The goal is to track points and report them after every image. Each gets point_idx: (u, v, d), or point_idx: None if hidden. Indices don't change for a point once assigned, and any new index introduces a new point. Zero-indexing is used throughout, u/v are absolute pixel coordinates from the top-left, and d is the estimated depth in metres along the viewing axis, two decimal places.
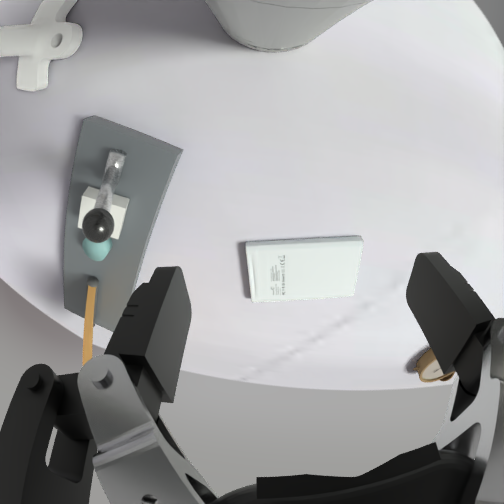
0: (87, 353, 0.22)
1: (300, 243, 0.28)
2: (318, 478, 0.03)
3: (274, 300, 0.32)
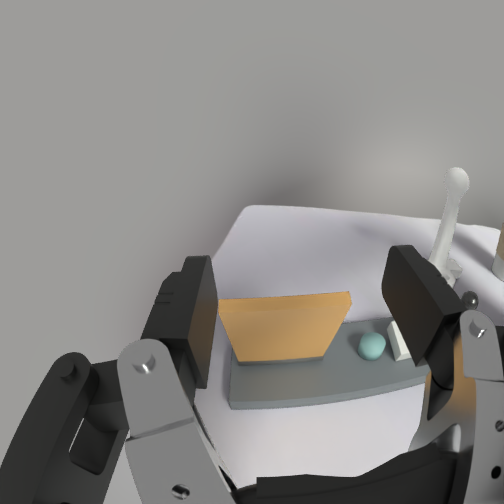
0: None
1: None
2: (318, 478, 0.03)
3: None
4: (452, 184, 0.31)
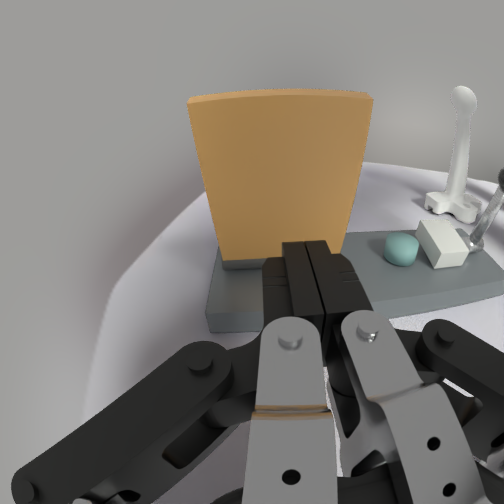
0: None
1: None
2: None
3: None
4: (460, 99, 0.24)
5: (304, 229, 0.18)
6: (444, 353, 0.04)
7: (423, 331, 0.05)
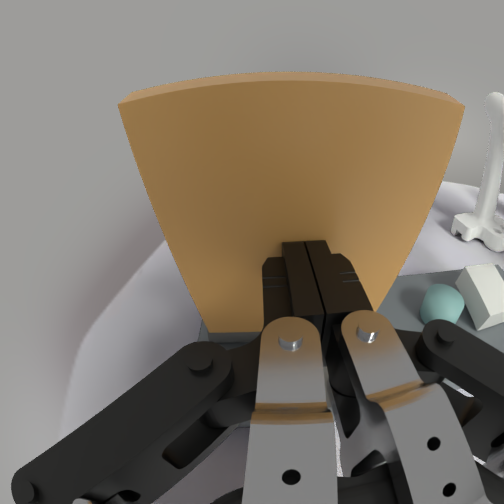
0: None
1: None
2: None
3: None
4: (496, 107, 0.18)
5: None
6: (444, 353, 0.04)
7: (423, 331, 0.05)
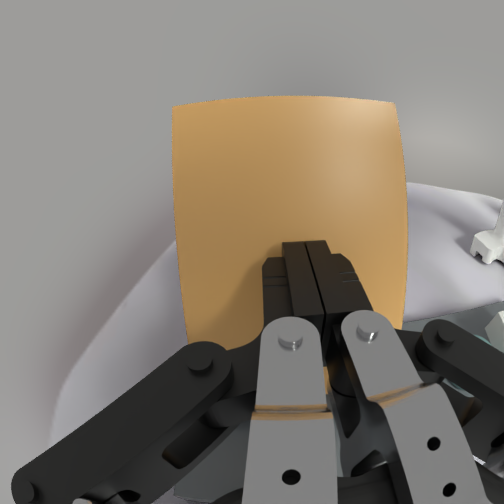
0: None
1: None
2: None
3: None
4: None
5: None
6: (444, 353, 0.04)
7: (423, 331, 0.05)
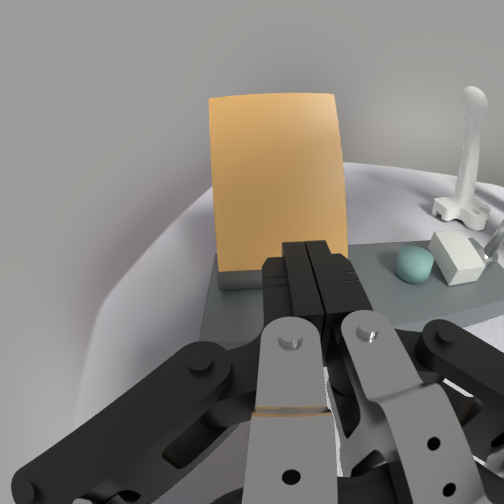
0: None
1: None
2: None
3: None
4: (470, 100, 0.22)
5: (304, 222, 0.18)
6: (444, 353, 0.04)
7: (423, 331, 0.05)
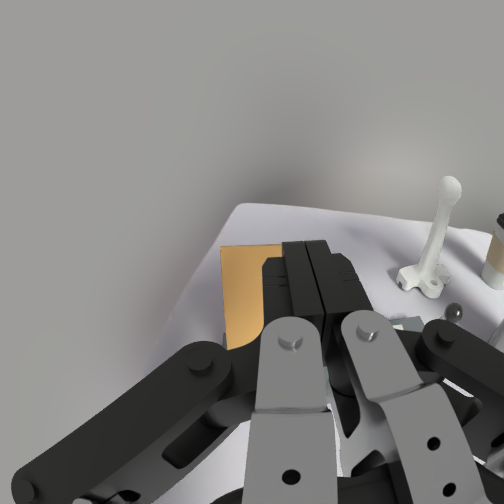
0: None
1: None
2: None
3: None
4: (444, 193, 0.32)
5: None
6: (444, 353, 0.04)
7: (423, 331, 0.05)
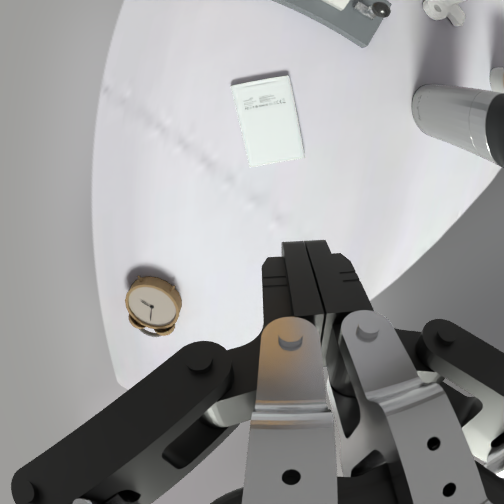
0: None
1: (296, 112, 0.34)
2: None
3: (237, 103, 0.34)
4: None
5: None
6: (444, 353, 0.04)
7: (423, 331, 0.05)
